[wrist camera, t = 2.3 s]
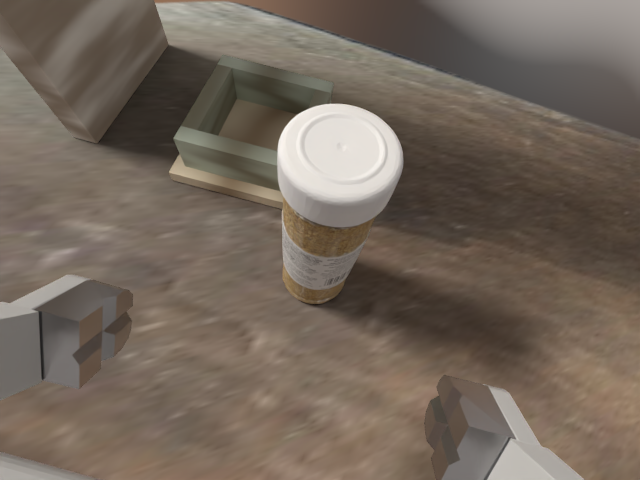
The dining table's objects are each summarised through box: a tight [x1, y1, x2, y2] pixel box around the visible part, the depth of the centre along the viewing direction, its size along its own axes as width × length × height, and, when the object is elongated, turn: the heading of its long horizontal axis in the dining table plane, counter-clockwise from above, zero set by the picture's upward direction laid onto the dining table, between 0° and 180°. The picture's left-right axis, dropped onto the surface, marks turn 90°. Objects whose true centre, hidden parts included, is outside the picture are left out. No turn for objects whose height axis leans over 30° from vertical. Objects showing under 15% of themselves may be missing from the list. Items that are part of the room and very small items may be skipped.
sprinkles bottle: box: [277, 104, 403, 304], centre depth 18 cm, size 5×5×13 cm
